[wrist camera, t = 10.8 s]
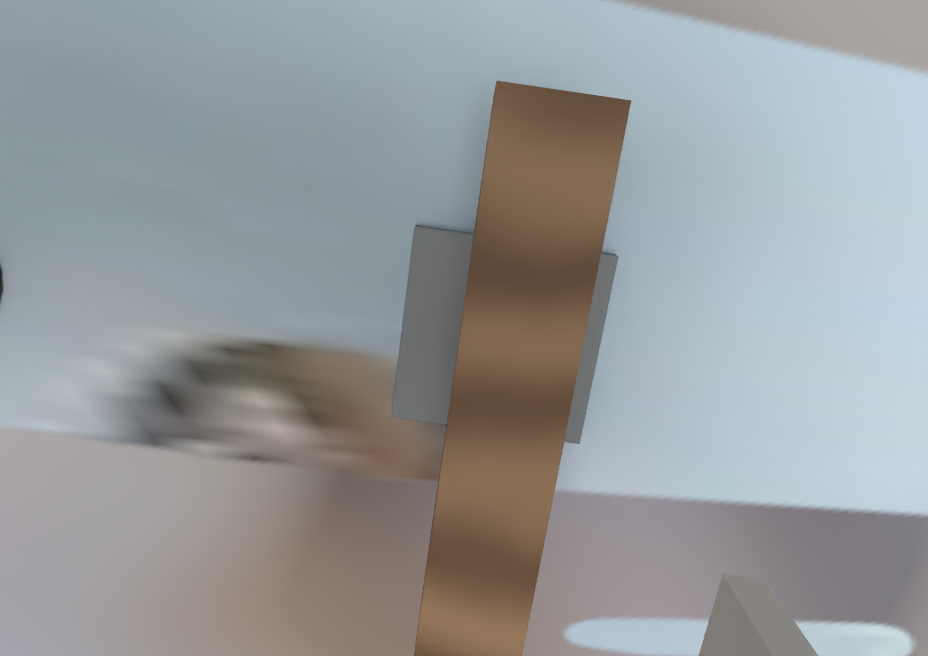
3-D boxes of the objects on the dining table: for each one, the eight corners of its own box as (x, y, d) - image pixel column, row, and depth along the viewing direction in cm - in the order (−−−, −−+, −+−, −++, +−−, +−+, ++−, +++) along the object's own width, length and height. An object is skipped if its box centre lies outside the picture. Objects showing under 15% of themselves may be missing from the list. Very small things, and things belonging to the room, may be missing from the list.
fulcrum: (393, 410, 40) (372, 468, 32) (416, 225, 37) (399, 240, 29) (576, 437, 40) (599, 501, 33) (614, 254, 37) (650, 277, 30)
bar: (512, 605, 34) (517, 676, 29) (422, 592, 34) (413, 662, 29) (604, 112, 28) (630, 100, 23) (493, 95, 28) (496, 81, 23)
